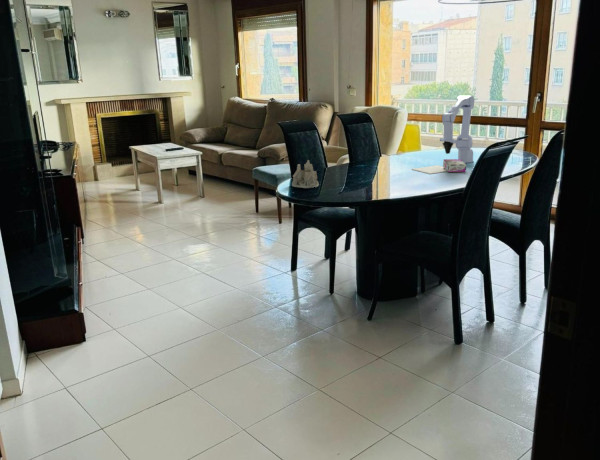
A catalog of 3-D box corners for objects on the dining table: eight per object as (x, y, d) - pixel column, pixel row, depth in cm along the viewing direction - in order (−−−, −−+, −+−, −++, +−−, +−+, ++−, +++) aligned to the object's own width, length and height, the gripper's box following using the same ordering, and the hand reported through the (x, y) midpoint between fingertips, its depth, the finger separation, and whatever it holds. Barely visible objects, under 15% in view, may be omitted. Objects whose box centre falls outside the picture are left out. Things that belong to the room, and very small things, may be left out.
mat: (437, 166, 363) (437, 165, 363) (456, 170, 345) (456, 169, 345) (411, 169, 356) (411, 168, 356) (430, 174, 338) (430, 173, 338)
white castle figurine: (291, 183, 336) (291, 159, 330) (318, 182, 335) (318, 159, 330) (291, 190, 321) (290, 165, 316) (319, 189, 321) (318, 164, 316)
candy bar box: (442, 166, 354) (447, 172, 338) (443, 159, 352) (447, 164, 337) (460, 166, 353) (465, 172, 337) (460, 159, 351) (466, 164, 336)
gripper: (436, 131, 353) (435, 152, 357) (450, 133, 340) (449, 155, 344) (445, 130, 356) (444, 151, 359) (459, 132, 343) (458, 154, 346)
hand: (447, 153), depth 352 cm, fingers closed
